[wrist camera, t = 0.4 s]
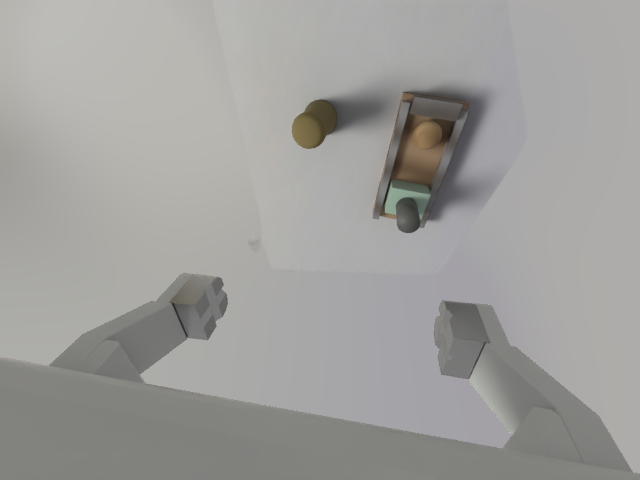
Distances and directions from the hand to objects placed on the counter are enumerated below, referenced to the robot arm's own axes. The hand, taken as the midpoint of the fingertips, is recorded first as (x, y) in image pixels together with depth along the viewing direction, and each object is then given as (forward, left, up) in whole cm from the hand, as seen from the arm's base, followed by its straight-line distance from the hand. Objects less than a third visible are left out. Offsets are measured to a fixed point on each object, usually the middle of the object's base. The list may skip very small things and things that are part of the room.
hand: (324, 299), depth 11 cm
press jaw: (+14, +10, -44) cm, 47 cm away
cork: (+3, -8, -46) cm, 46 cm away
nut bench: (+8, +10, -45) cm, 47 cm away
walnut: (+2, +10, -42) cm, 43 cm away
